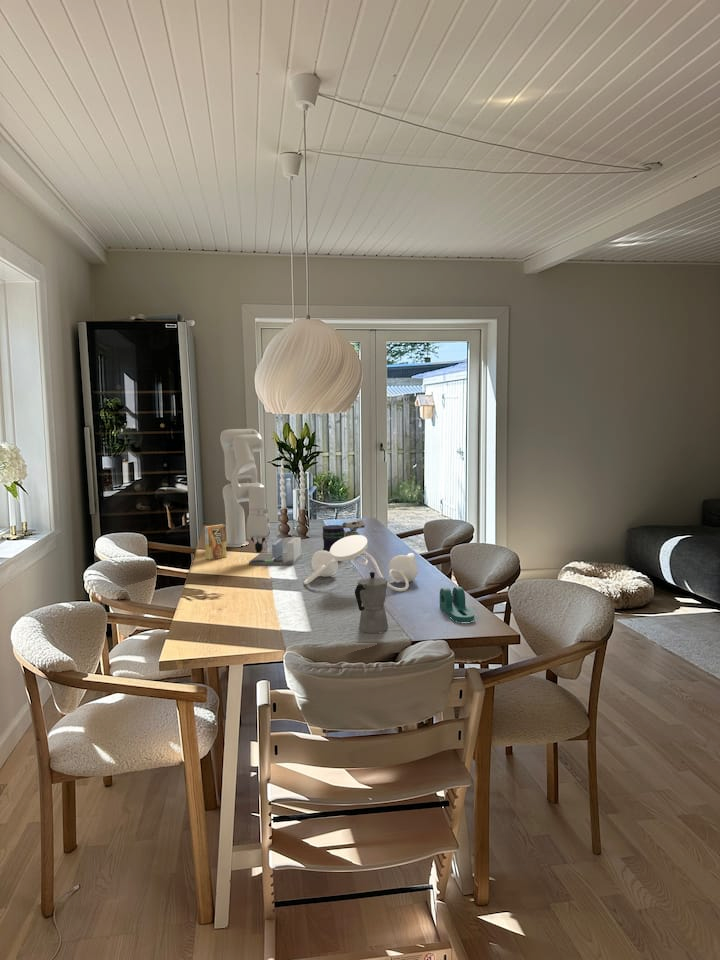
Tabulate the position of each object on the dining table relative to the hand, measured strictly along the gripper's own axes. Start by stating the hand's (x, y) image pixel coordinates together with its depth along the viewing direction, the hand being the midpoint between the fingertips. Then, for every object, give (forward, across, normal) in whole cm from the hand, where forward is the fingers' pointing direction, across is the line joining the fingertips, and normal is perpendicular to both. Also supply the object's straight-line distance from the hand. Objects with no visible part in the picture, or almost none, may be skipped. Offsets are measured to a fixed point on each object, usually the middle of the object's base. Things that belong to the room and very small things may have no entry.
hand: (259, 551), depth 311 cm
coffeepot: (+4, -63, +93) cm, 112 cm away
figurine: (+4, -41, -21) cm, 46 cm away
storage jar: (+4, -34, -4) cm, 34 cm away
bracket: (+4, -89, +76) cm, 118 cm away
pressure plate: (+2, -9, +1) cm, 9 cm away
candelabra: (+4, -51, +37) cm, 63 cm away
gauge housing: (+4, -8, 0) cm, 9 cm away
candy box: (+4, +22, -4) cm, 23 cm away
